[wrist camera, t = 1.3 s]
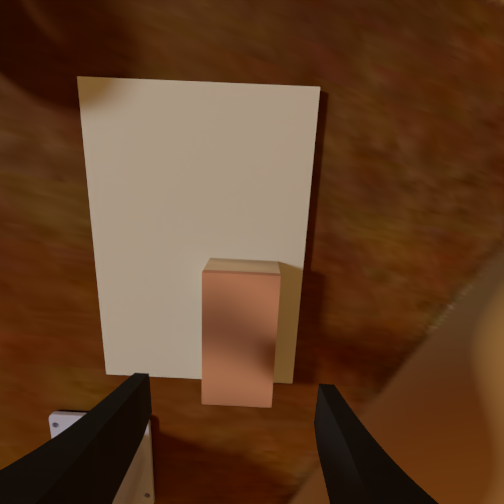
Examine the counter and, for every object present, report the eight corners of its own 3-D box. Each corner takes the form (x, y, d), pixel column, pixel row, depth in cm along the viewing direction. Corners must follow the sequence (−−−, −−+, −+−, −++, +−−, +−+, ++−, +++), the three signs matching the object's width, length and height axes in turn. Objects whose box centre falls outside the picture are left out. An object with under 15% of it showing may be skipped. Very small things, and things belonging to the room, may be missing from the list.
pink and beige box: (269, 376, 22) (271, 407, 19) (209, 373, 22) (201, 404, 19) (277, 261, 20) (280, 276, 17) (209, 257, 20) (201, 272, 17)
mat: (291, 378, 23) (292, 383, 22) (110, 369, 23) (106, 374, 22) (318, 89, 17) (320, 86, 17) (82, 79, 18) (76, 76, 17)
